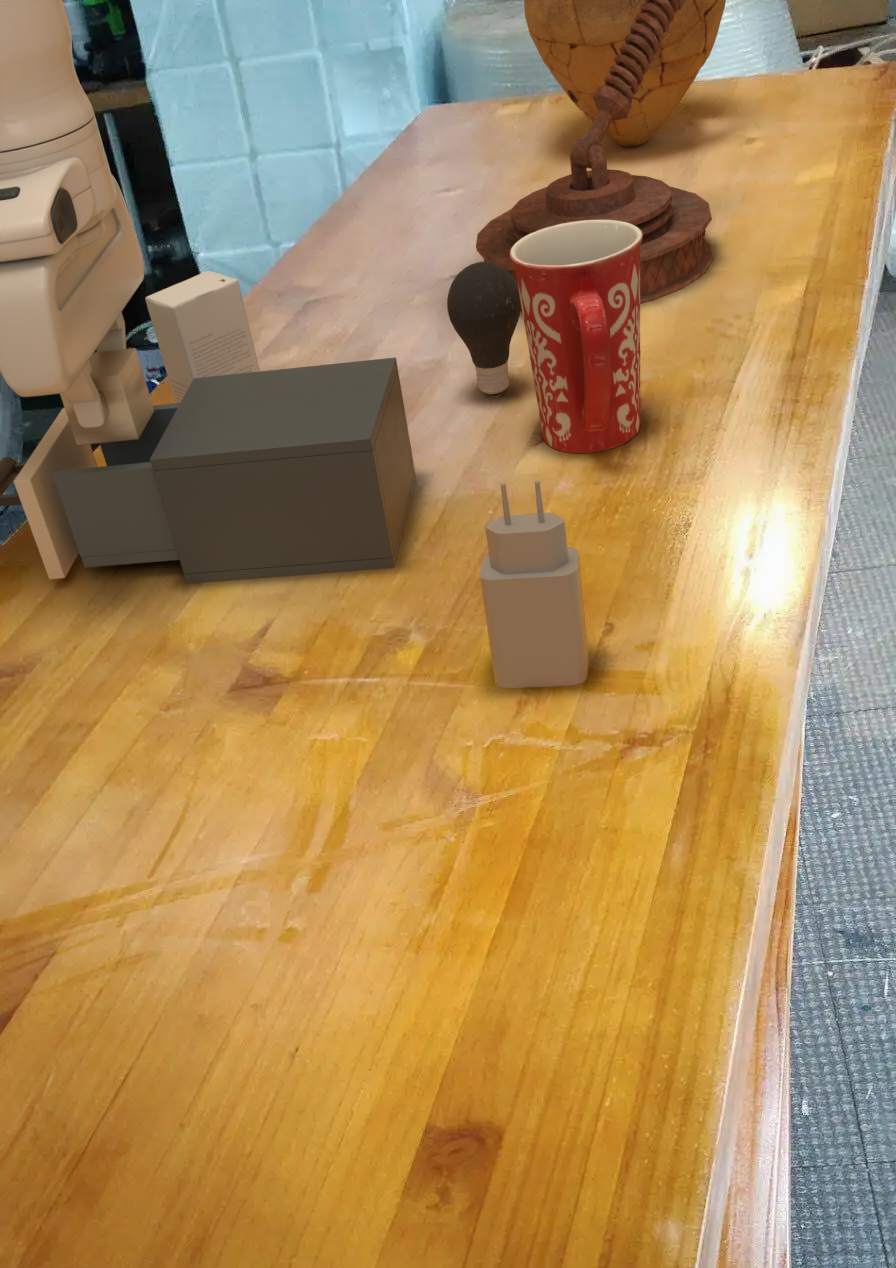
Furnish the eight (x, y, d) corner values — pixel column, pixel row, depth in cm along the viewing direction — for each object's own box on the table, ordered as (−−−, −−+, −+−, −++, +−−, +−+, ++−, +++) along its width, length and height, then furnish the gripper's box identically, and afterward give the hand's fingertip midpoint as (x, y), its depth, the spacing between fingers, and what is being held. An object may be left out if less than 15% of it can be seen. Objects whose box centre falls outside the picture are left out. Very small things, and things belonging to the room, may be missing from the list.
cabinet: (186, 585, 101) (149, 459, 94) (225, 498, 109) (193, 378, 103) (394, 568, 98) (370, 438, 92) (416, 481, 107) (396, 357, 101)
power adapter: (586, 685, 85) (568, 491, 77) (493, 689, 86) (466, 499, 78) (589, 655, 87) (572, 464, 79) (499, 660, 88) (473, 472, 80)
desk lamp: (374, 318, 132) (274, -252, 104) (620, 202, 145) (589, -332, 117) (536, 365, 119) (471, -270, 92) (790, 233, 132) (799, -357, 105)
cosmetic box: (246, 421, 119) (209, 268, 111) (276, 433, 117) (240, 278, 108) (185, 450, 117) (142, 296, 109) (213, 463, 114) (172, 306, 106)
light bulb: (450, 411, 115) (431, 279, 108) (472, 380, 119) (455, 251, 112) (519, 411, 113) (503, 277, 106) (539, 380, 117) (525, 248, 110)
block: (76, 445, 99) (55, 381, 96) (94, 417, 102) (74, 354, 99) (138, 439, 98) (119, 374, 95) (154, 411, 101) (136, 347, 98)
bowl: (520, 140, 165) (499, -73, 151) (694, 103, 165) (689, -112, 152) (564, 192, 149) (545, -40, 136) (756, 151, 150) (756, -83, 136)
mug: (526, 415, 112) (506, 229, 103) (644, 398, 112) (635, 209, 102) (536, 490, 103) (514, 294, 94) (664, 472, 102) (656, 272, 93)
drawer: (-17, 585, 103) (-56, 487, 98) (32, 507, 111) (-1, 413, 106) (234, 564, 100) (207, 463, 95) (266, 486, 108) (243, 389, 103)
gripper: (41, 138, 97) (104, 347, 107) (-68, 247, 83) (17, 477, 92) (131, 126, 96) (187, 338, 105) (37, 234, 82) (112, 468, 91)
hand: (107, 404), depth 99 cm, fingers closed on block, 4 cm apart
